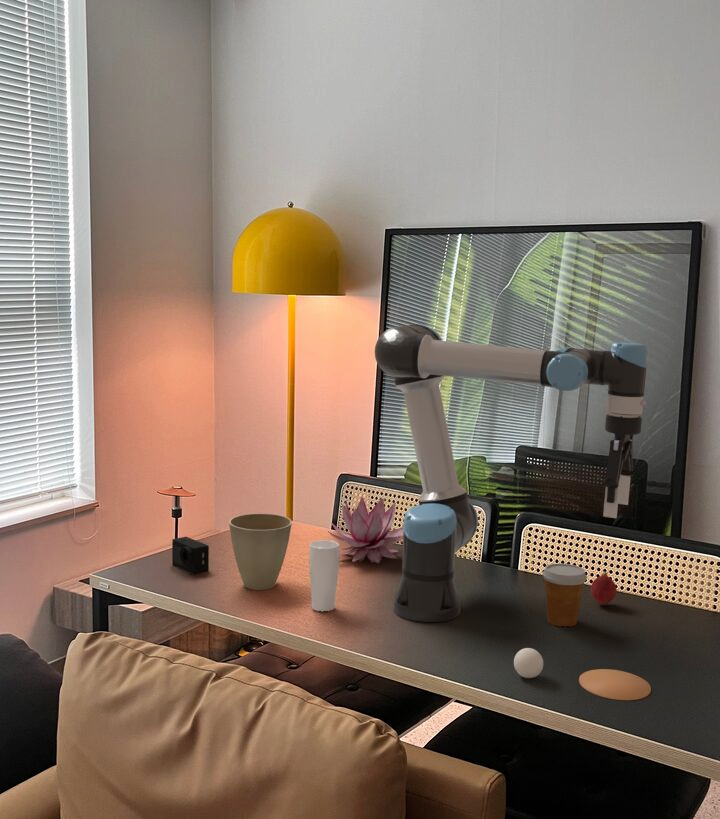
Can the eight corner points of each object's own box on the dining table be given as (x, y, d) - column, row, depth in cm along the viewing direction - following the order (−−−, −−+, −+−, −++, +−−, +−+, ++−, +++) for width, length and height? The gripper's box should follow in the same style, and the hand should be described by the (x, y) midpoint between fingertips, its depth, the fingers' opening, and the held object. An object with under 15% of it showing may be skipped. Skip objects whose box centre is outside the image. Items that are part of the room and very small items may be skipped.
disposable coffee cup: (534, 614, 209) (537, 562, 208) (576, 614, 210) (579, 562, 208) (546, 630, 200) (549, 576, 198) (589, 629, 201) (593, 576, 199)
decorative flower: (408, 572, 237) (410, 514, 235) (325, 569, 237) (326, 512, 235) (406, 547, 258) (407, 495, 256) (329, 545, 258) (330, 492, 256)
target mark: (581, 696, 168) (581, 695, 168) (576, 667, 181) (576, 666, 181) (655, 703, 166) (656, 702, 166) (645, 673, 179) (645, 672, 179)
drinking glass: (343, 606, 211) (344, 542, 209) (329, 615, 205) (331, 550, 203) (316, 601, 214) (318, 538, 212) (302, 610, 208) (304, 545, 205)
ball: (513, 681, 174) (514, 653, 173) (513, 669, 179) (514, 642, 178) (543, 684, 173) (544, 656, 172) (542, 672, 178) (543, 644, 177)
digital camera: (167, 566, 237) (167, 539, 236) (186, 562, 240) (186, 535, 240) (190, 576, 229) (190, 548, 228) (208, 572, 233) (208, 545, 232)
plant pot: (216, 590, 220) (217, 524, 217) (247, 572, 233) (248, 510, 231) (273, 599, 214) (274, 532, 212) (301, 580, 228) (302, 517, 226)
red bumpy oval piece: (616, 610, 213) (618, 577, 212) (590, 608, 214) (592, 575, 213) (614, 602, 218) (616, 569, 217) (589, 600, 220) (591, 567, 218)
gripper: (631, 423, 187) (623, 525, 190) (651, 409, 210) (642, 501, 213) (594, 419, 190) (586, 520, 194) (617, 406, 213) (609, 496, 216)
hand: (615, 510), depth 203 cm, fingers open, 13 cm apart
